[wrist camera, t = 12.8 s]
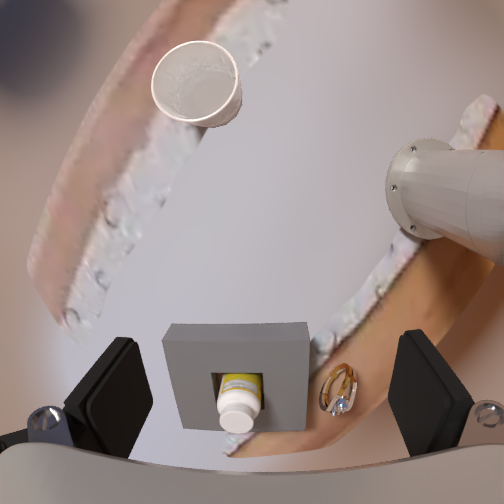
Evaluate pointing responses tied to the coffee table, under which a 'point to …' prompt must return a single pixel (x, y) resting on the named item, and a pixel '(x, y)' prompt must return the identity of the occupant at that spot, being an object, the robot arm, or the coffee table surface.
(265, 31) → the coffee table surface
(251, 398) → the supplement bottle
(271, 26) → the coffee table surface
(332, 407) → the ring
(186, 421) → the socket block
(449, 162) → the robot arm
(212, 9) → the coffee table surface
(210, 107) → the white cup
